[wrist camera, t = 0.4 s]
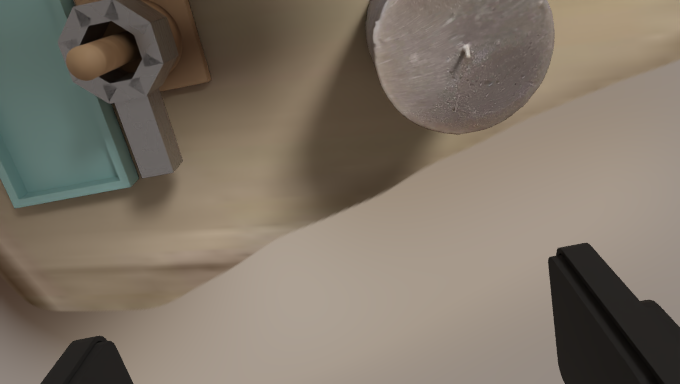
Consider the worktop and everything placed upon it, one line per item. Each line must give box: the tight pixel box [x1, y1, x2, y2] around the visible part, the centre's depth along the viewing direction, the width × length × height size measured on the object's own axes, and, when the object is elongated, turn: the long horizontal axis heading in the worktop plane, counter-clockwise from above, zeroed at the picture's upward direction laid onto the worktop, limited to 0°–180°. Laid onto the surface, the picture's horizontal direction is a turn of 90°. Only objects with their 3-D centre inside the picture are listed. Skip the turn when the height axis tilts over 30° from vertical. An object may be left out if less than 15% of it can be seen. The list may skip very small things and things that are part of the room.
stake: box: [66, 0, 211, 92], centre depth 37 cm, size 8×8×11 cm
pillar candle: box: [366, 0, 554, 134], centre depth 34 cm, size 10×10×15 cm
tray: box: [0, 0, 139, 208], centre depth 43 cm, size 18×10×2 cm, turn 11°
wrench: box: [58, 0, 183, 178], centre depth 38 cm, size 12×6×4 cm, turn 11°
